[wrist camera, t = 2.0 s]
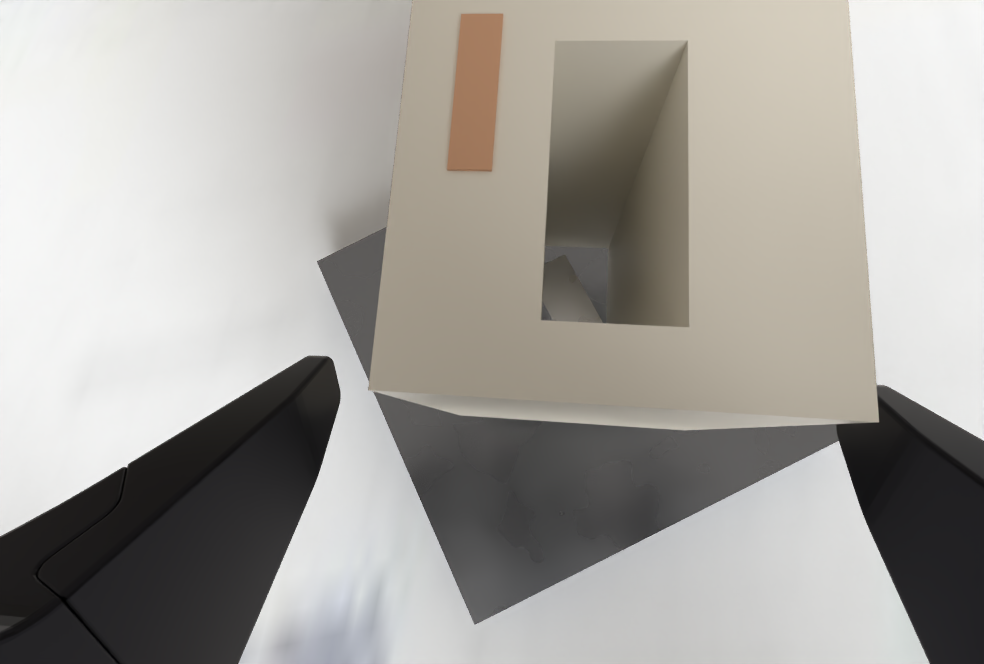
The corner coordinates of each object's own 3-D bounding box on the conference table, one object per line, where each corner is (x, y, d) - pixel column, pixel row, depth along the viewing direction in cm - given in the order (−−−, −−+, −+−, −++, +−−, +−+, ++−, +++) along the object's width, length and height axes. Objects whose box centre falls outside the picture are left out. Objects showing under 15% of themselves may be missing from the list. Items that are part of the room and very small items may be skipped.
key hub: (823, 432, 19) (950, 430, 13) (480, 605, 19) (456, 680, 13) (633, 130, 22) (669, 19, 16) (336, 277, 22) (263, 218, 16)
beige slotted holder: (684, 430, 14) (881, 422, 6) (459, 415, 14) (366, 389, 6) (683, 217, 15) (848, -27, 7) (475, 211, 15) (413, -22, 8)
